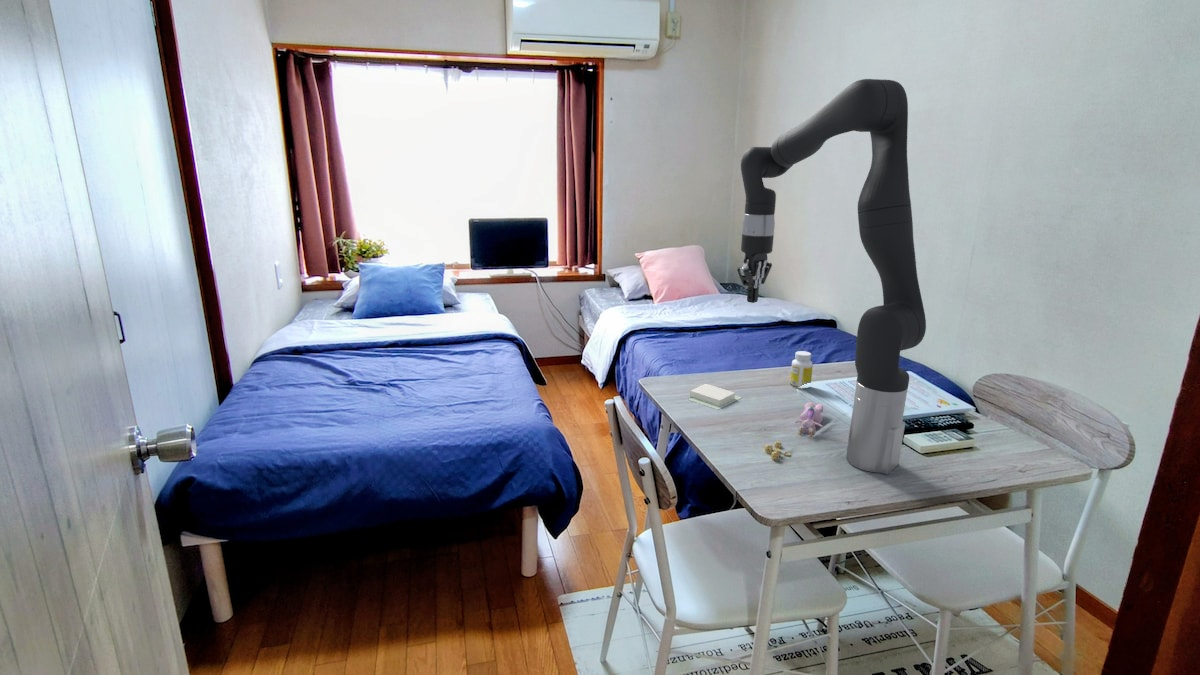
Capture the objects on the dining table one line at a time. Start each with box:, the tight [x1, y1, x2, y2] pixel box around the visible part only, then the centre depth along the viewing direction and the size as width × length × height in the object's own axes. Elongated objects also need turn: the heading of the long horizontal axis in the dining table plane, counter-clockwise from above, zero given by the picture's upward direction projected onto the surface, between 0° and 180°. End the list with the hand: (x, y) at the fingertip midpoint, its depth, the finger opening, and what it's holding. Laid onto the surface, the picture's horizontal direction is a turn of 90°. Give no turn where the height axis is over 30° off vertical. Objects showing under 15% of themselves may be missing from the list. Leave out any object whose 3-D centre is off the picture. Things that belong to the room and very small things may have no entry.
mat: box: [688, 394, 743, 411], centre depth 153 cm, size 18×16×1 cm
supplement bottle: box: [789, 350, 814, 390], centre depth 162 cm, size 5×5×10 cm
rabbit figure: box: [794, 401, 824, 439], centre depth 139 cm, size 6×6×15 cm
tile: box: [689, 383, 736, 406], centre depth 154 cm, size 7×2×9 cm
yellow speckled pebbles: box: [764, 441, 791, 462], centre depth 127 cm, size 5×5×2 cm
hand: (752, 301), depth 151 cm, fingers closed
